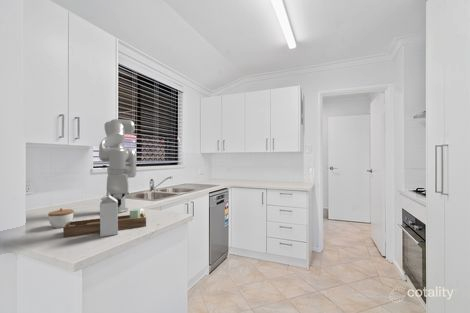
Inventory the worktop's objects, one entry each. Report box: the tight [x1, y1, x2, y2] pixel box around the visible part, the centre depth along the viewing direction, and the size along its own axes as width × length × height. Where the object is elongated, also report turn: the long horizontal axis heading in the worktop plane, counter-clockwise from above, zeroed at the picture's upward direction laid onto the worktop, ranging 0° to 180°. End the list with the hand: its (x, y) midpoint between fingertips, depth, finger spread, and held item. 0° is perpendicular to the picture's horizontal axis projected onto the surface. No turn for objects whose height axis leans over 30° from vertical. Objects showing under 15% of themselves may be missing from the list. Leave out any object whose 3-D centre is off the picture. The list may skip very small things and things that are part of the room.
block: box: [129, 208, 141, 219], centre depth 121 cm, size 4×4×5 cm
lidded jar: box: [47, 208, 74, 229], centre depth 120 cm, size 11×11×9 cm
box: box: [62, 212, 147, 238], centre depth 115 cm, size 10×35×4 cm, turn 116°
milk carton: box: [99, 194, 119, 238], centre depth 107 cm, size 7×7×19 cm
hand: (117, 206), depth 120 cm, fingers closed
